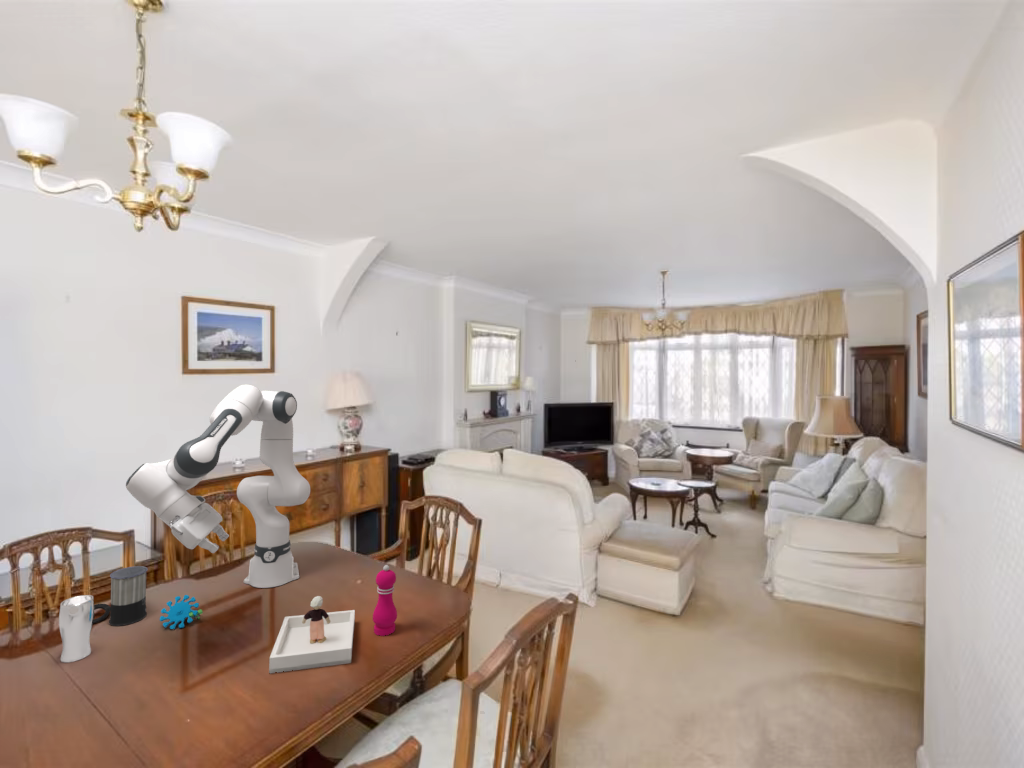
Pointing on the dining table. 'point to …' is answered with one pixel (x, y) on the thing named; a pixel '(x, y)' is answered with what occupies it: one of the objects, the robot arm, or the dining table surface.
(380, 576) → the pepper mill
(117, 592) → the milk frother
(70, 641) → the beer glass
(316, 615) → the grandmother figurine
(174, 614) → the gear
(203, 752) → the dining table surface
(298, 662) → the tray
